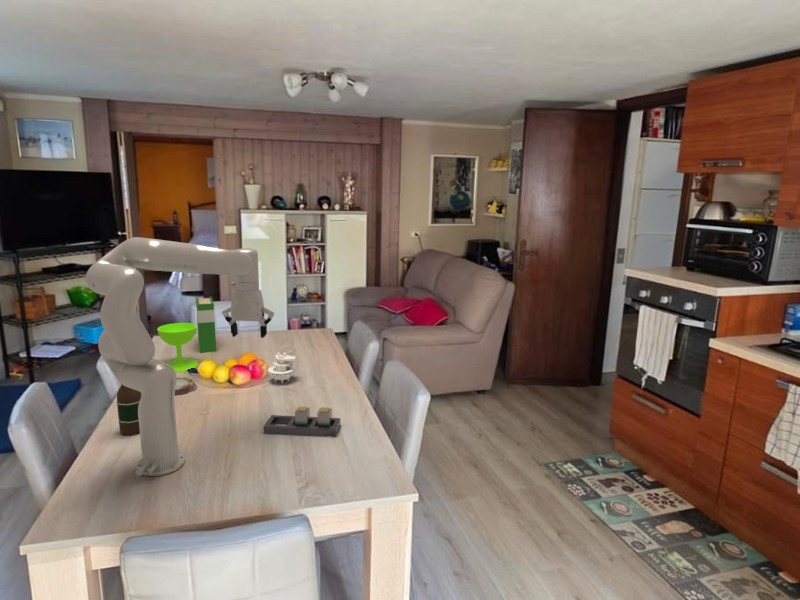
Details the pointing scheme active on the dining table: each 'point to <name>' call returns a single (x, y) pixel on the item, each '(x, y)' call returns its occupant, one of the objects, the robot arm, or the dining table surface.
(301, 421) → the brushed metal block
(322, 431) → the rail
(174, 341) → the green goblet
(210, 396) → the dining table surface
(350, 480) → the dining table surface
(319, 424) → the grey tan rectangular block
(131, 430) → the beer bottle
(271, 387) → the dining table surface
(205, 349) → the hardback book
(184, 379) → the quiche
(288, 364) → the mechanical part
